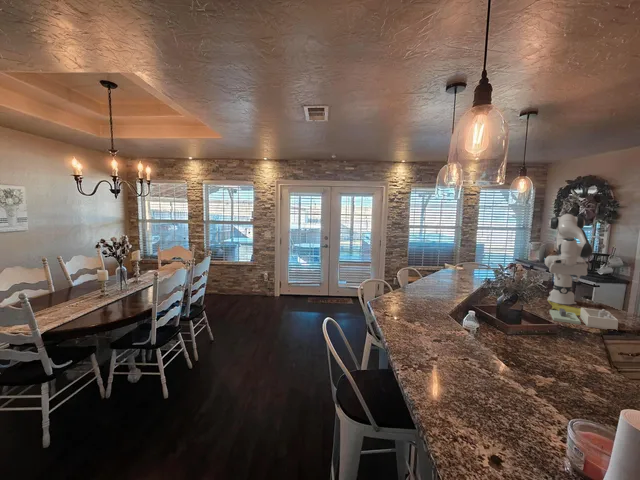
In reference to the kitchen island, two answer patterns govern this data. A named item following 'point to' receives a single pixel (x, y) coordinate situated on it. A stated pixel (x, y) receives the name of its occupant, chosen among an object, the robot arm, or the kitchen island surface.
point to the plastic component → (565, 308)
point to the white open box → (598, 319)
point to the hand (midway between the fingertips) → (567, 280)
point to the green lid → (564, 316)
